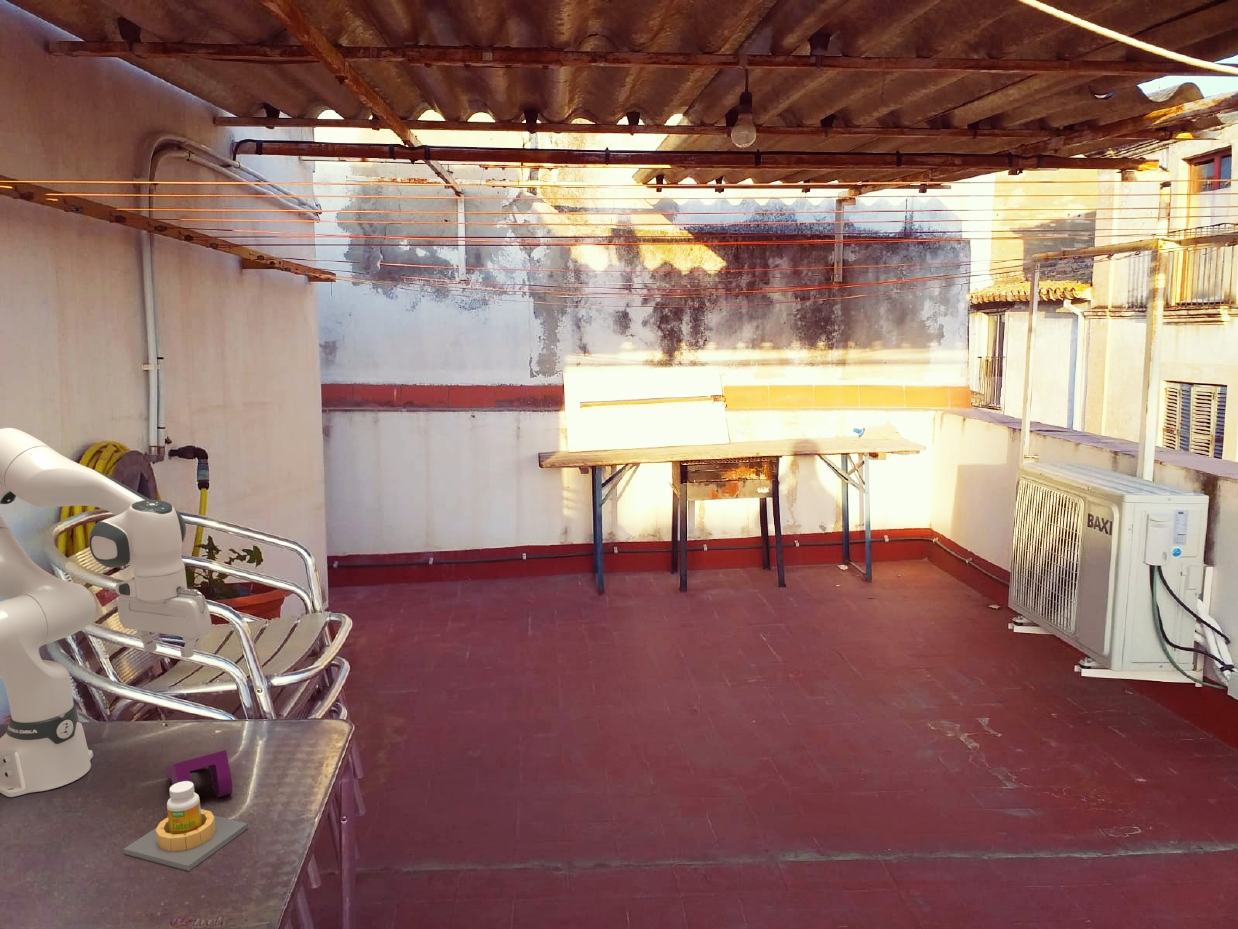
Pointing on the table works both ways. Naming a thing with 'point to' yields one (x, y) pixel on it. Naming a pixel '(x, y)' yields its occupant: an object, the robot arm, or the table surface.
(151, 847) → the plate
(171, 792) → the supplement bottle
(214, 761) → the mounting bracket
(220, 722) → the table surface
